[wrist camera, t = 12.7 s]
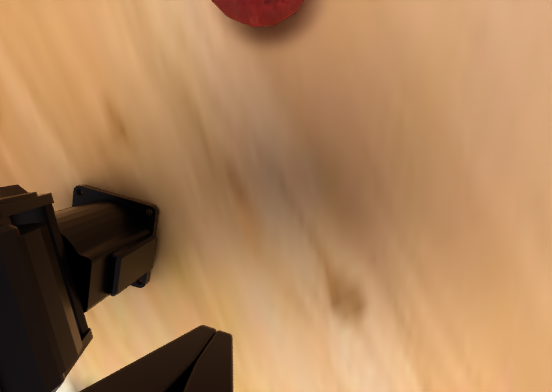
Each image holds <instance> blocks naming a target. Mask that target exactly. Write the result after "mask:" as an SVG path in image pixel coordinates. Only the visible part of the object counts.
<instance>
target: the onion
mask: <svg viewBox="0 0 552 392" xmlns="http://www.w3.org/2000/svg"><path fill="white" fill-rule="evenodd" d="M211 1H212V2H213V3H214V4H215V5H216V6H217V7H218V8H219V9H220V10H221V11H222V12H223V13H224V14H225V15H226V16H228V17H230V18H231V19H233V20H236V21H238V22H241V23H244V24H246V25H249V26H251V27H257V26H274V25H276V24H277V23H279V22H281V21H282V20H284V19H286V18H288V17H289V16H291V15H293V14H294V13H295V12H296V11H297V10H298V8H299V7H300V5H301V4H302V2H303V1H304V0H211Z"/></svg>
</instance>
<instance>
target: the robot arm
mask: <svg viewBox="0 0 552 392" xmlns="http://www.w3.org/2000/svg"><path fill="white" fill-rule="evenodd" d="M81 190H82V191H83V194H82V193H81ZM52 203H54V201H53V198H52V194H51V193H48V194H42V195H37V192H32V193H28V192H27V191H25V190H24V189H23V188H21V187H20V186H19V185H12V186H6V187H0V392H56V390H57V389H58V388H59V387H60V386H61V385H62V383H63V382H64V380H65V378H66V376H67V375H68V373H69V372H70V370H71V369H72V367H73V366H74V364H75V363H76V362H77V360H78V359H79V357H80V356H81V354H82V353H83V351H84V350H85V348H86V347H87V345H88V344H89V343H90V341H91V340H92V338H93V335H92V332H91V329H90V328H88V326H87V322H86V319H85V315H84V313H85V312H87V311H88V310H89V309H91V308H92V307H93V306H95V305H96V304H98V303H99V302H100V301H102V300H103V299H104V298H106V297H107V296H109V295H111V296H115V295H117V294H119V293H120V292H121V291H123V290H124V289H125V288H127V287H128V286H129V285H132V286H135V287H138V288H142V287H144V286H145V285H146V284H147V283H148V281H149V275H150V269H152V267H153V262H154V255H155V249H156V242H157V237H156V235H155V234H156V228H157V221H158V214H159V210H158V208H157V207H156V206H155V205H153V204H150V203H146V202H143V201H139V200H136V199H132V198H129V197H125V196H122V195H118V194H115V193H111V192H108V191H104V190H100V189H97V188H93V187H90V186H86V185H79V186H76V187H75V188H74V191H73V204H72V207H70V208H66V209H63V210H59V211H55V212H54V209H53V206H52ZM149 209H150V210H152V214H150V213H149ZM140 279H141V280H142V282H141V281H140ZM80 392H233V339H232V335H231V334H229V333H226V332H223V331H220V330H219V331H217V332H216V329H214V328H211V327H208V326H205V325H201V326H199V327H197V328H195V329H193V330H191V331H190V332H188V333H186V334H184V335H182V336H180V337H179V338H177V339H175V340H173V341H171V342H169V343H168V344H166V345H164V346H162V347H160V348H158V349H157V350H155V351H153V352H151V353H149V354H147V355H146V356H144V357H142V358H140V359H138V360H136V361H135V362H133V363H131V364H129V365H127V366H125V367H124V368H122V369H120V370H118V371H116V372H114V373H113V374H111V375H109V376H107V377H105V378H103V379H102V380H100V381H98V382H96V383H94V384H92V385H91V386H89V387H87V388H85V389H83V390H82V391H80Z"/></svg>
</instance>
